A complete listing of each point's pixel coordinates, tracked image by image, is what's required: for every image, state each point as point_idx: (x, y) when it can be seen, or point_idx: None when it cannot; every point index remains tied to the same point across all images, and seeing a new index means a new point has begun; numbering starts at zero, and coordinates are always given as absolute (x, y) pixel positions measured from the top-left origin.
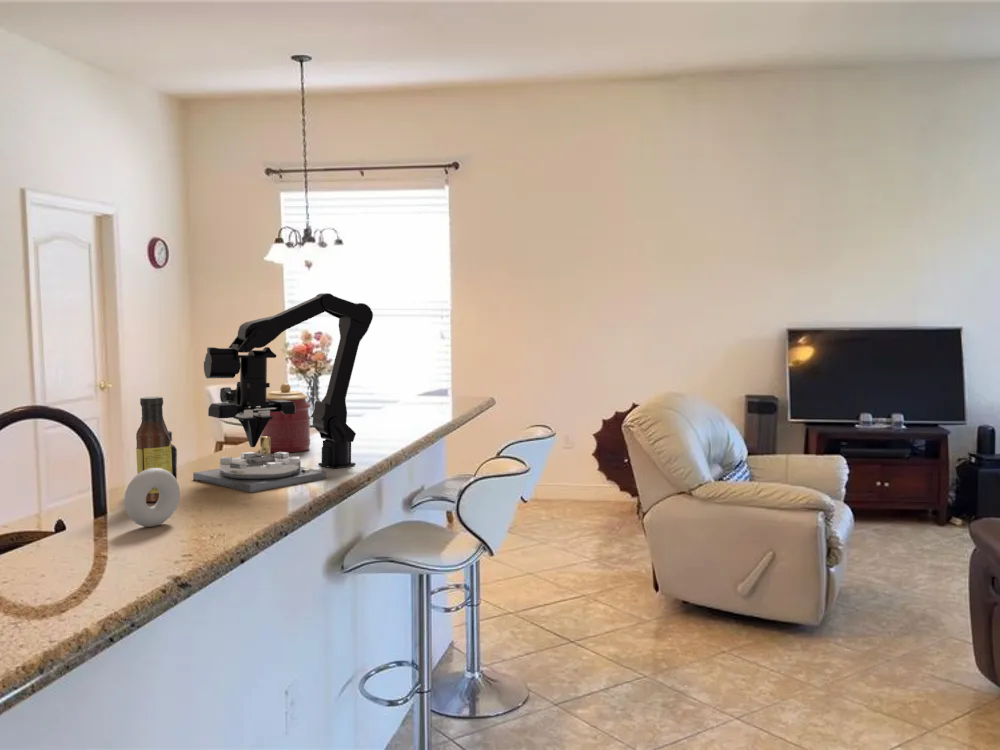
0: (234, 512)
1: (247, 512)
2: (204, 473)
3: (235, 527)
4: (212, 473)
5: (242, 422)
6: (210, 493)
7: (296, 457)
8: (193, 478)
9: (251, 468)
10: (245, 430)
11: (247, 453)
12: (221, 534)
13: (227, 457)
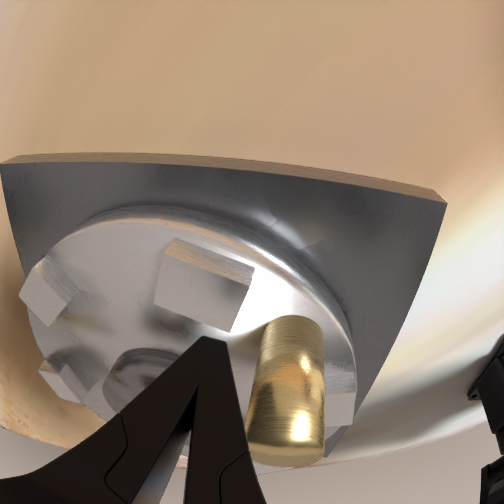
0: (43, 413)
1: (56, 424)
2: (18, 211)
3: (37, 428)
4: (37, 234)
5: (39, 493)
6: (23, 332)
7: (270, 468)
8: (15, 157)
9: (96, 407)
10: (104, 437)
11: (182, 305)
12: (25, 425)
13: (46, 299)
